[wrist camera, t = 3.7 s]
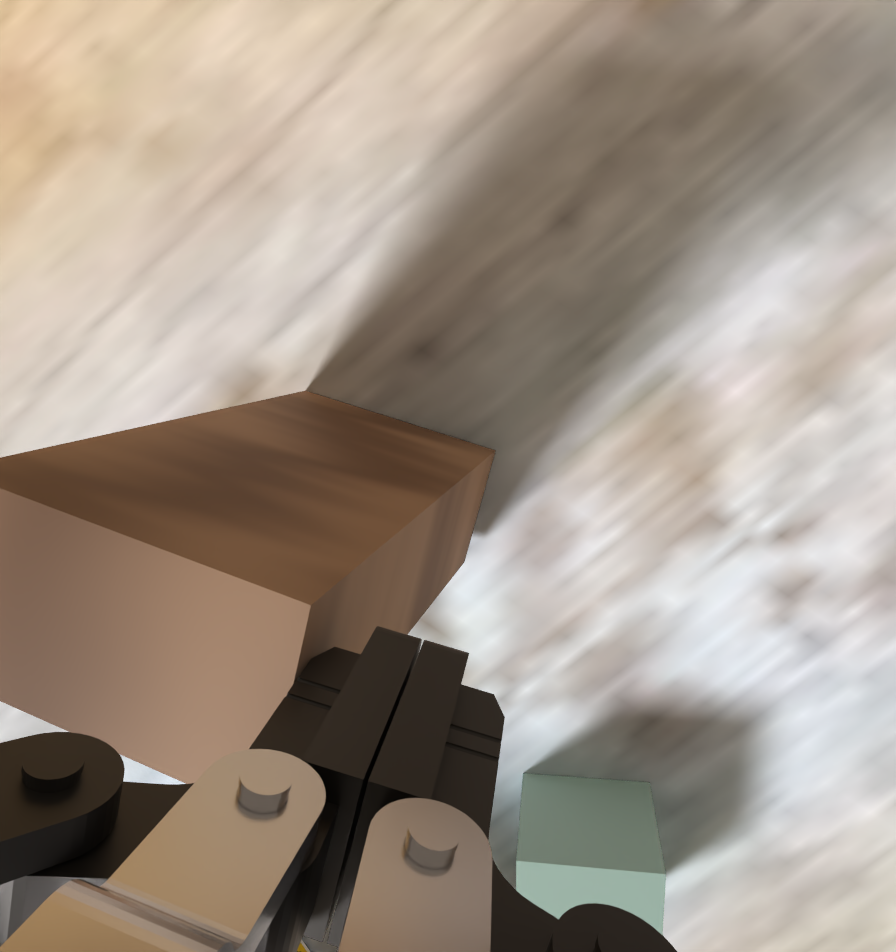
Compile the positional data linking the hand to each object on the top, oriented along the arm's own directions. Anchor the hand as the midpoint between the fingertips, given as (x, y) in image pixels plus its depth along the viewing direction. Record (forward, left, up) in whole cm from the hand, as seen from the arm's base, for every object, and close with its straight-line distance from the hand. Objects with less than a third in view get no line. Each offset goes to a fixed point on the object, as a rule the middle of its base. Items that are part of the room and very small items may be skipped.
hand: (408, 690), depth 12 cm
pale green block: (-6, +10, -11) cm, 16 cm away
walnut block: (+3, 0, -11) cm, 11 cm away
